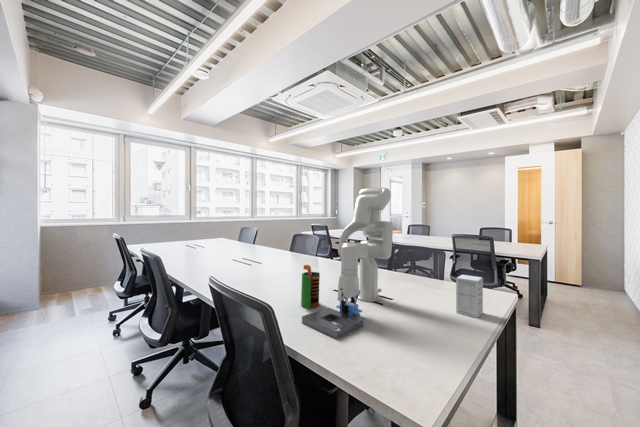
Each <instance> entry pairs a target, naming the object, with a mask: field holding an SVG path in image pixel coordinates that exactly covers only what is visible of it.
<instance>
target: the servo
mask: <svg viewBox="0 0 640 427" xmlns="http://www.w3.org/2000/svg"><path fill="white" fill-rule="evenodd" d="M347 305H348V315H350V316H353V317H356V318H358V319H361V313H362V312H363V310H362V309H360V308H359V304H357V303H356V304H355V303H352V302H350V301H349V300H348V302H347ZM335 308H337V309H339V312H342V304H341V303H340V302H339V304H337V305H336V306H335Z"/></svg>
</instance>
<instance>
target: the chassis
mask: <svg viewBox="0 0 640 427" xmlns="http://www.w3.org/2000/svg"><path fill="white" fill-rule="evenodd" d="M330 321H334V322H336V323H333V322H330ZM301 323H302V324H304V325H305V326H308V327H310V328H312V329H314V330H316V331H318V332H321V333H323V334H325V335H327V336H330V337H331V338H333V339H336V340H337V339H341V338H342V337H344V336H347V335H349V334H351V333H354V332H355V331H357V330H359V329H363V328H364V319H361V318H360V319H358V318H356V317H353V316H350V315H348V314H345V313H342V312H340V310H337V309H334V308H330V307H326V308H324V309H320V310H317V311H315V312H312V313H308V314H306V315H302V316H301Z"/></svg>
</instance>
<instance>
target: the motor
mask: <svg viewBox="0 0 640 427" xmlns="http://www.w3.org/2000/svg"><path fill="white" fill-rule="evenodd" d="M303 270H306V272H302V273H301V291H300V292H301V294H300V296H301V297H300V298H301V299H300V307H302V308H304V309H312V308H313V309H315V308H318V307H320V274H321V273H320V272H318V271H312V268H311V265H309V264H304V265H303Z"/></svg>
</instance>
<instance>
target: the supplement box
mask: <svg viewBox="0 0 640 427" xmlns="http://www.w3.org/2000/svg"><path fill="white" fill-rule="evenodd" d="M483 281H484V279H483V277H482V276H475V275H468V274H467V275H466V274H461V275H459V276H457V277H456V282H455V283H456V285H455V289H456V290H455V295H456V297H455V298H456V299H455V306H456V307H455V312H456V313H457V314H459V315H463V316H469V317H473V318H479V317H480V316H481V315H482V314H484V311H483V310H484V308H483V307H484V306H483V305H484V303H483V301H484V300H483V299H484V298H483V296H484V290H483V289H484V286H483V285H484V282H483Z"/></svg>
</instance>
